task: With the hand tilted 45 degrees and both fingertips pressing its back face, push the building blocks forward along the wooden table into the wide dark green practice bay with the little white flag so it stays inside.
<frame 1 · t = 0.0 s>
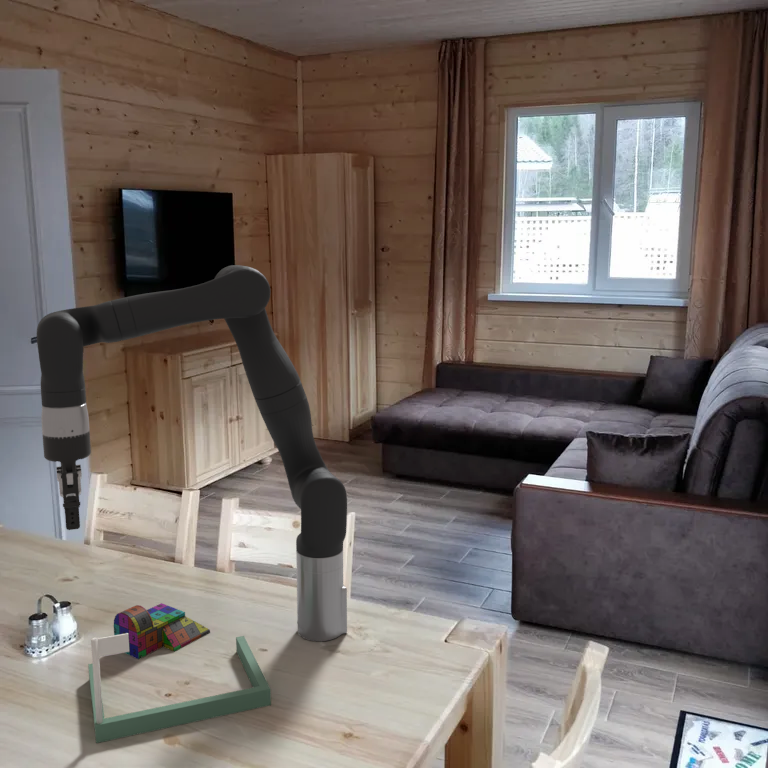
hand: (72, 520, 142), 29 cm above the table, tool pointing down, fingers open, 8 cm apart
building blocks: (163, 642, 161), on the table
practice bay: (177, 692, 142), on the table
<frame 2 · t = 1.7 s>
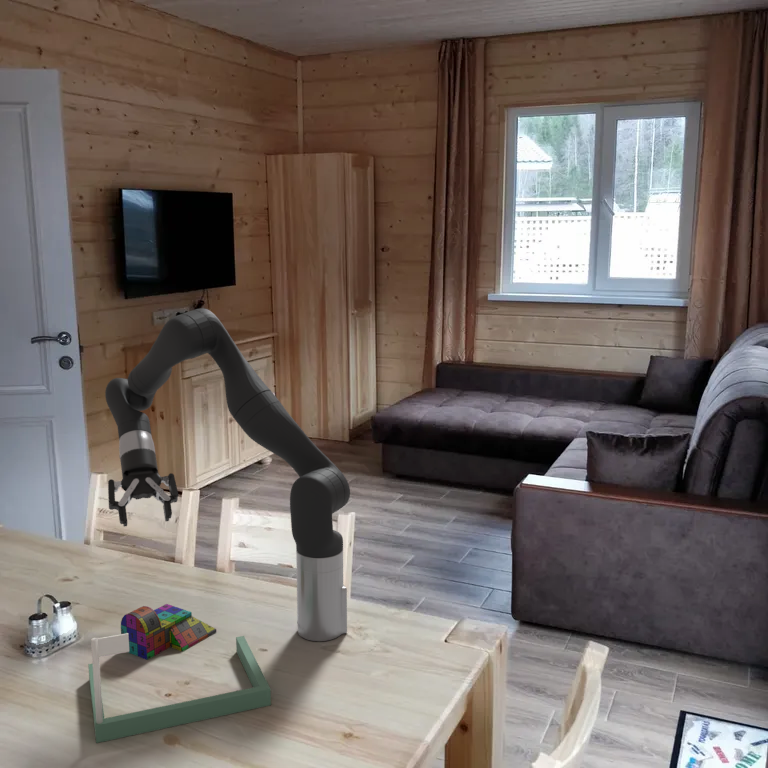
hand: (146, 522, 172), 19 cm above the table, tool tilted 45°, fingers open, 8 cm apart
building blocks: (170, 642, 161), on the table
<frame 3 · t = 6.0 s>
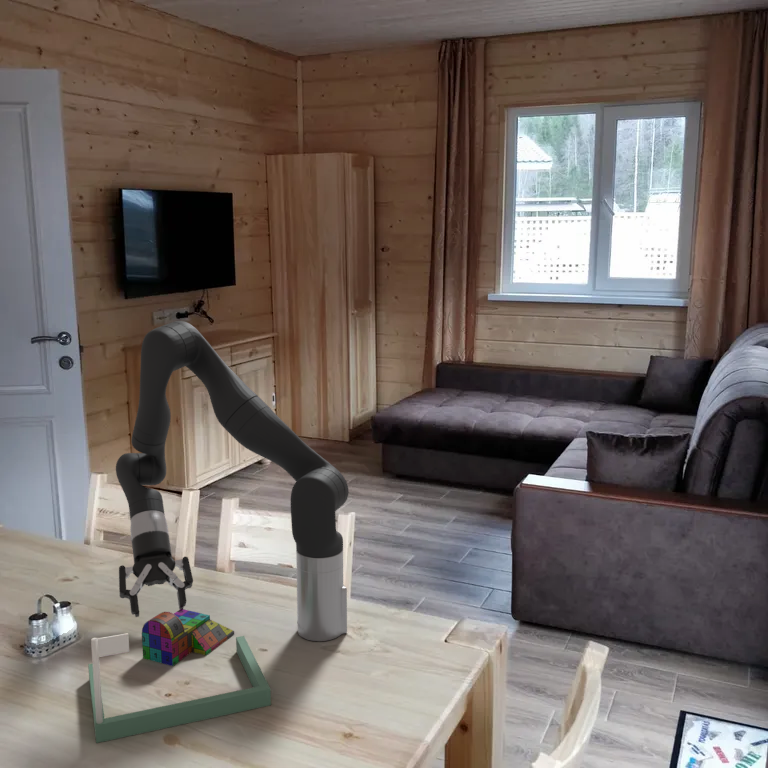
hand: (159, 612, 162), 5 cm above the table, tool tilted 45°, fingers open, 8 cm apart
building blocks: (190, 647, 159), on the table, touching gripper
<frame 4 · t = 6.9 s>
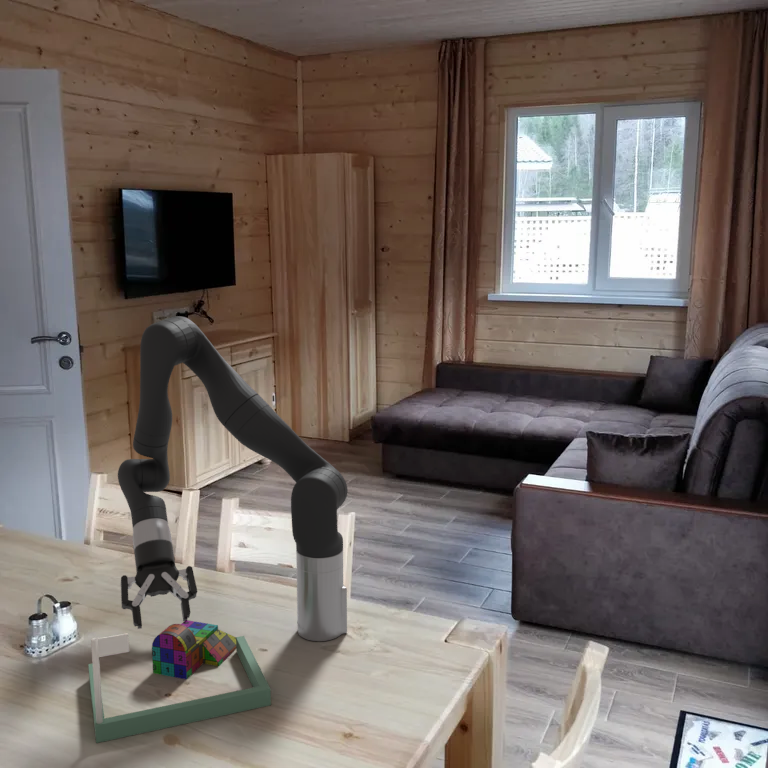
hand: (163, 623, 157), 5 cm above the table, tool tilted 45°, fingers open, 8 cm apart
building blocks: (199, 659, 154), on the table, touching gripper
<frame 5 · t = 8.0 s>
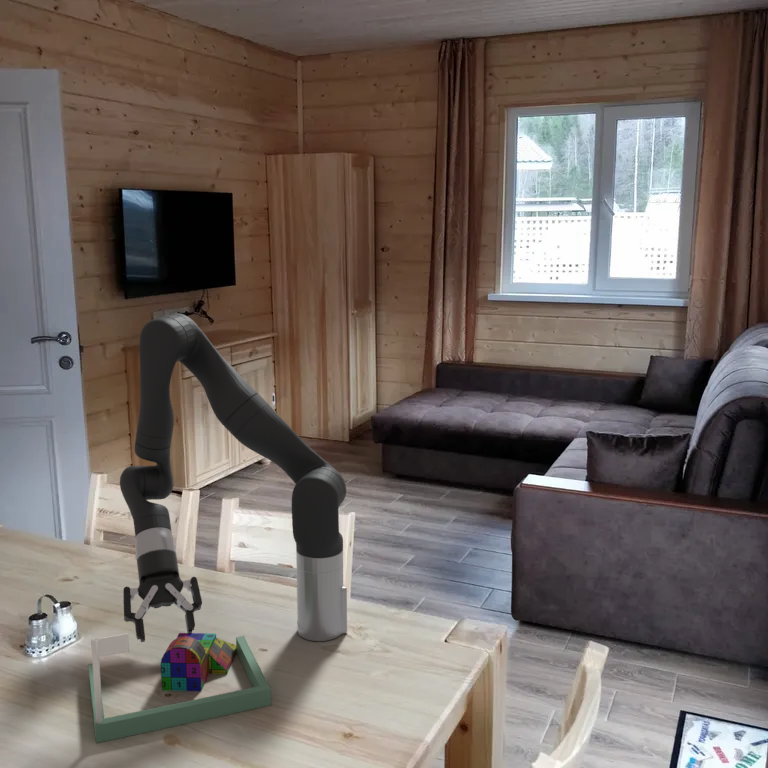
hand: (166, 636, 152), 5 cm above the table, tool tilted 45°, fingers open, 8 cm apart
building blocks: (201, 670, 150), on the table, touching gripper
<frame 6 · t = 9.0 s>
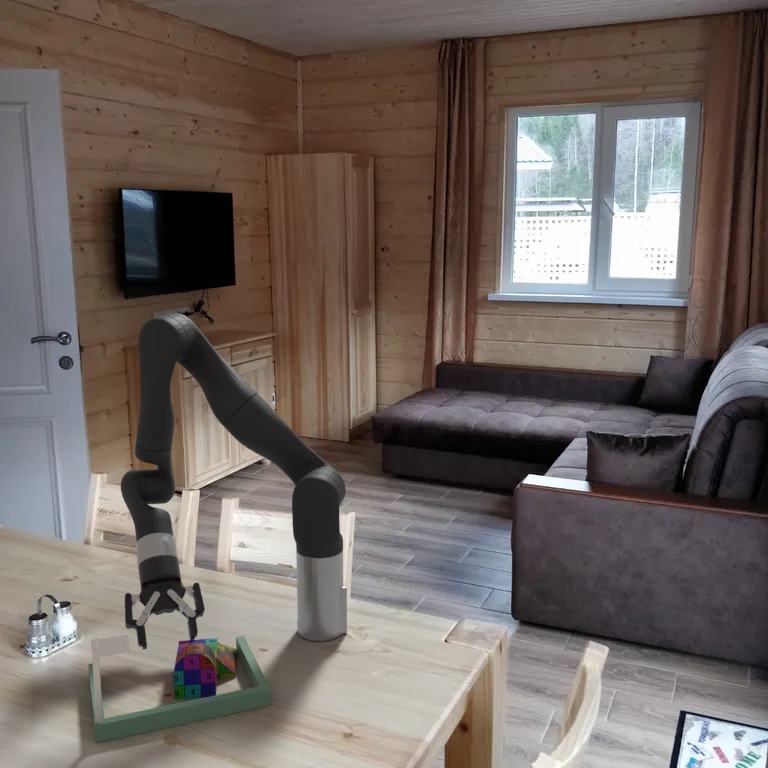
hand: (169, 643, 150), 5 cm above the table, tool tilted 45°, fingers open, 8 cm apart
building blocks: (207, 676, 148), on the table, touching gripper
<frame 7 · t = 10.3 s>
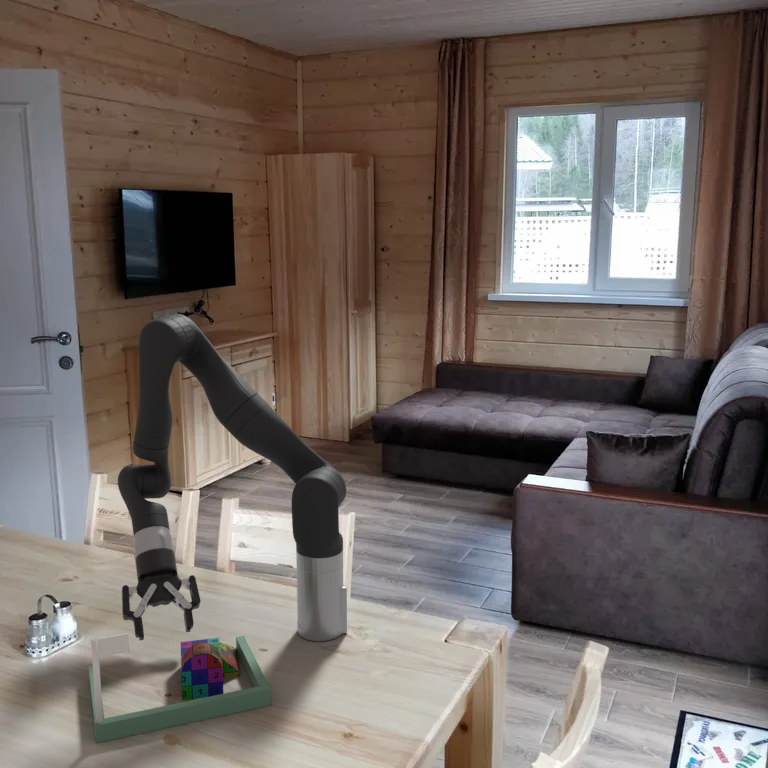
hand: (165, 634, 153), 5 cm above the table, tool tilted 45°, fingers open, 8 cm apart
building blocks: (210, 676, 148), on the table
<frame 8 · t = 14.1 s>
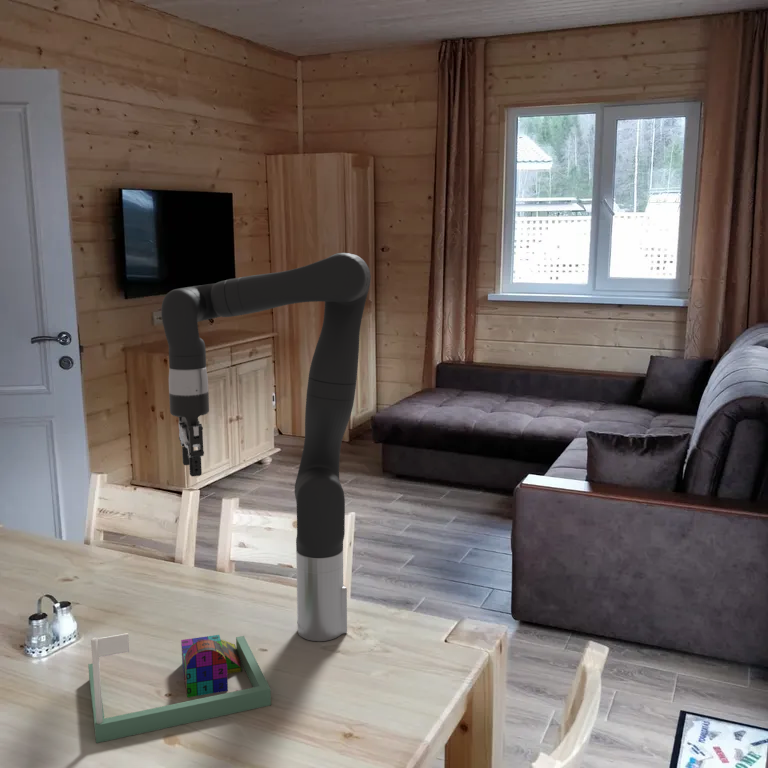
hand: (192, 469, 163), 32 cm above the table, tool pointing down, fingers open, 8 cm apart
building blocks: (212, 673, 150), on the table
at the end: building blocks inside the target area on the practice bay (8.8 cm from its centre), point -0.5 cm above the practice bay's base; building blocks tilted 0°; building blocks moved 16.6 cm from its start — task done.
